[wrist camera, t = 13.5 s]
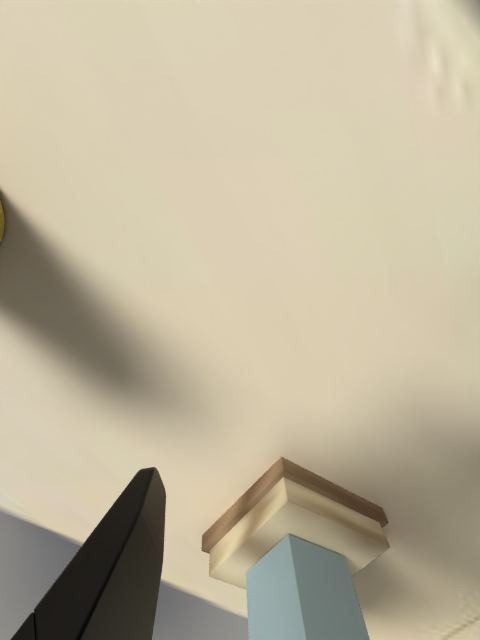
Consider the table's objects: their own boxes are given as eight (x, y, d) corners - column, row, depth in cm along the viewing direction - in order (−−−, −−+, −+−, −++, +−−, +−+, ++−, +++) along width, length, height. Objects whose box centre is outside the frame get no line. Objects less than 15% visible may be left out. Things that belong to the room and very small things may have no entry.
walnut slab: (279, 449, 28) (283, 470, 26) (378, 500, 31) (388, 522, 29) (202, 527, 31) (201, 550, 29) (298, 566, 34) (302, 589, 33)
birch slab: (283, 477, 26) (287, 501, 24) (379, 522, 29) (390, 547, 27) (209, 550, 29) (209, 576, 28) (302, 584, 32) (307, 610, 30)
